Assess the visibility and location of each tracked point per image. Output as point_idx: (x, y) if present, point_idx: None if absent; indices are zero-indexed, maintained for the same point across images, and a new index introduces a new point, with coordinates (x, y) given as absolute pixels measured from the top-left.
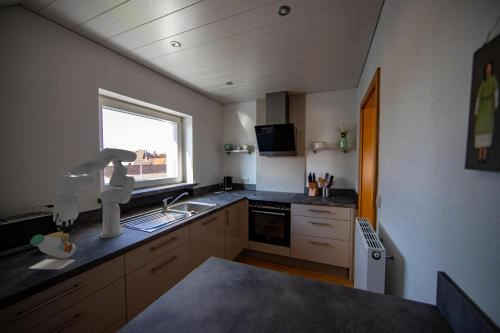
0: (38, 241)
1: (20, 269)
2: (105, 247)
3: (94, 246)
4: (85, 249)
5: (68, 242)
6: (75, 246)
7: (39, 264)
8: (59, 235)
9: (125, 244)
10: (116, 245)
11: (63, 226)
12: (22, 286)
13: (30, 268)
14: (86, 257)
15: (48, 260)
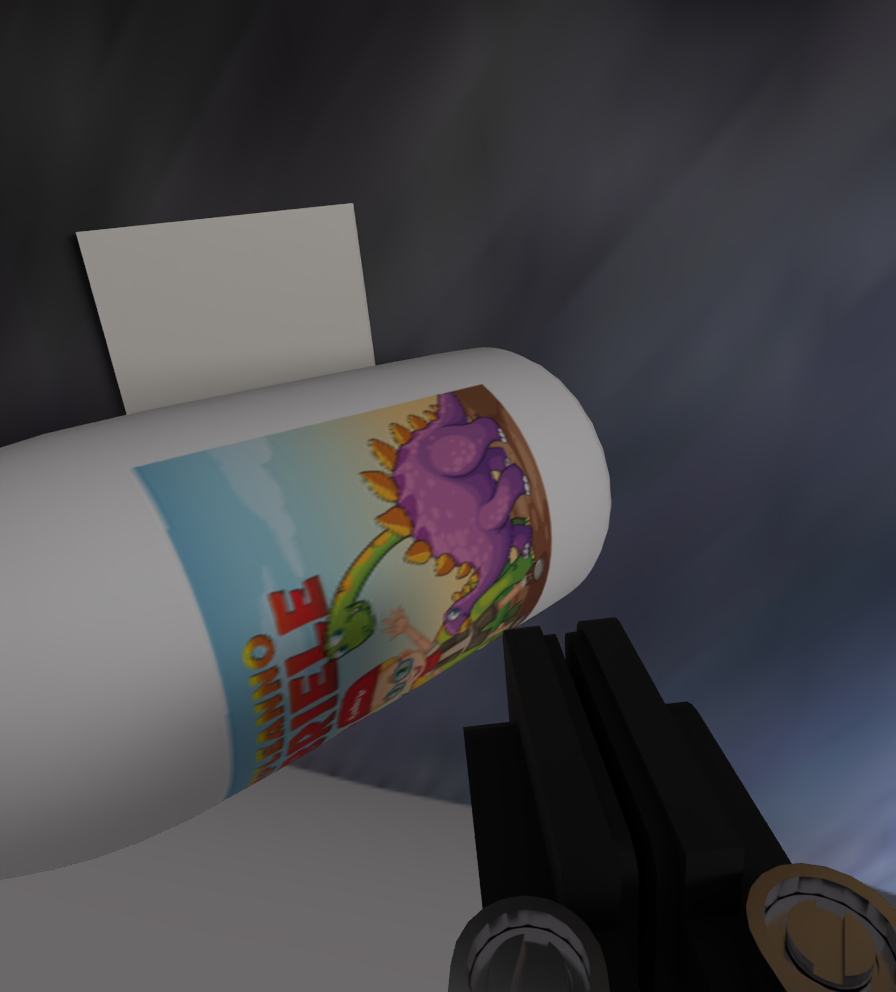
0: None
1: (29, 108)
2: (796, 692)
3: (841, 526)
4: (738, 482)
5: (451, 662)
6: (562, 597)
7: (199, 281)
8: None
9: (875, 847)
10: (853, 774)
11: (491, 957)
12: None
13: (86, 262)
14: (505, 690)
15: (326, 291)
